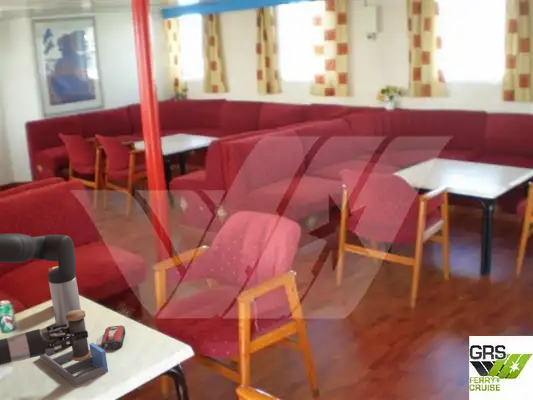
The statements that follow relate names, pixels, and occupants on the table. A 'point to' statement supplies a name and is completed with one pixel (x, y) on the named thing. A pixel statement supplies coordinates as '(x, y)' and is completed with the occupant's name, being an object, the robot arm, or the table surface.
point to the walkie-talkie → (112, 338)
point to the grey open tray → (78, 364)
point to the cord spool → (76, 325)
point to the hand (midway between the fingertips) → (85, 330)
